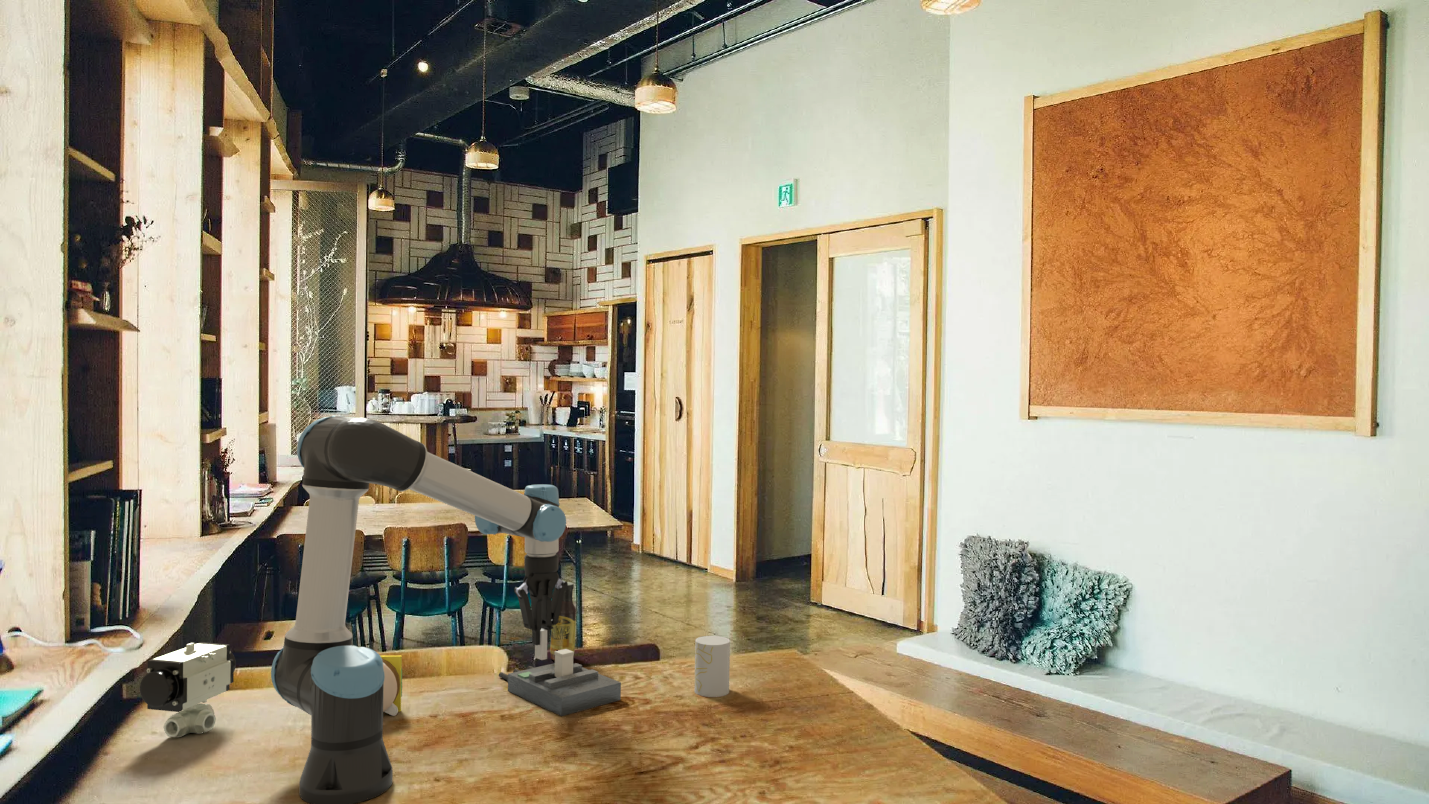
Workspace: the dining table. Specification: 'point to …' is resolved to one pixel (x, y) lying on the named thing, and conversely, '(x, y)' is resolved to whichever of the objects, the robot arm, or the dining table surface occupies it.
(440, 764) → the dining table surface
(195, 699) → the ball valve
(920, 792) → the dining table surface
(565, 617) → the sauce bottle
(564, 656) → the lever
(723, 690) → the white cylinder
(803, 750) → the dining table surface
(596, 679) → the grey slider base
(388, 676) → the yellow block with disc
